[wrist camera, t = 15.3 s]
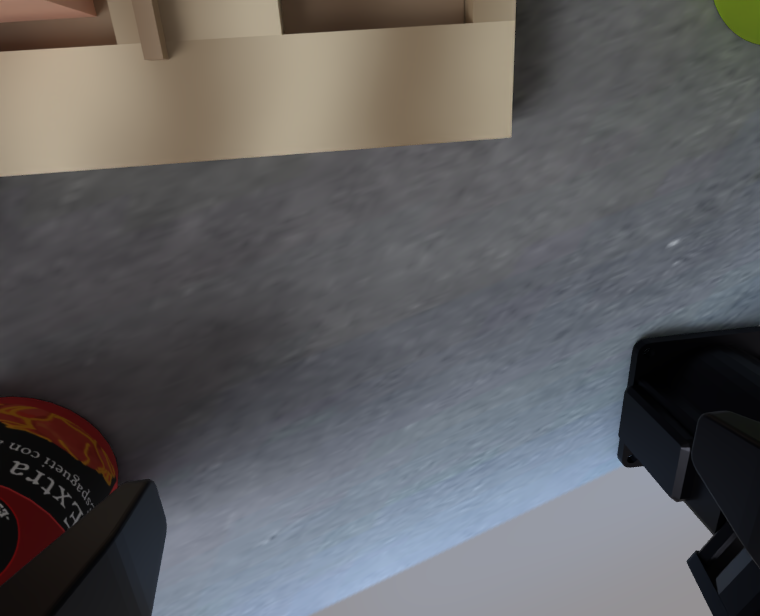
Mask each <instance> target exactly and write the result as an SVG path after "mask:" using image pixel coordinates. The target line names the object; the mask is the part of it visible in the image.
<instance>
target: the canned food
mask: <svg viewBox="0 0 760 616" xmlns="http://www.w3.org/2000/svg"><path fill="white" fill-rule="evenodd" d="M117 488H118V467H117V463H116V458H115V456H114V454H113V452H112V449H111V447H110V445H109V444H108V442H107V441H106V440H105V438H104V437H103V436H102V435H101V433H100V432H99V431H98V430H97V429H96V428H95V427H93V426H92V425H91V424H90V423H89V422H88V421H87V420H85V419H84V418H82V417H80V416H79V415H77V414H75V413H74V412H72V411H70V410H68V409H66V408H63V407H61V406H58V405H56V404H53V403H50V402H46V401H42V400H38V399H34V398H24V397H0V586H1V585H2V584H3V583H5V582H6V581H7V580H8V579H9V578H11V577H12V576H13V575H14V574H15V573H16V572H18V571H19V570H20V569H21V568H22V567H24V566H25V565H26V564H27V563H28V562H30V561H31V560H32V559H33V558H34V557H36V556H37V555H38V554H39V553H40V552H42V551H43V550H44V549H45V548H46V547H48V546H49V545H50V544H51V543H52V542H53V541H55V540H56V539H57V538H58V537H59V536H61V535H62V534H63V533H64V532H65V531H67V530H68V529H69V528H70V527H71V526H73V525H74V524H75V523H76V522H77V521H79V520H80V519H81V518H82V517H83V516H85V515H86V514H87V513H88V512H89V511H91V510H92V509H93V508H94V507H95V506H96V505H98V504H99V503H100V502H101V501H102V500H104V499H105V498H106V497H107V496H108V495H110V494H111V493H112V492H113V491H114V490H116V489H117Z"/></svg>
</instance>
